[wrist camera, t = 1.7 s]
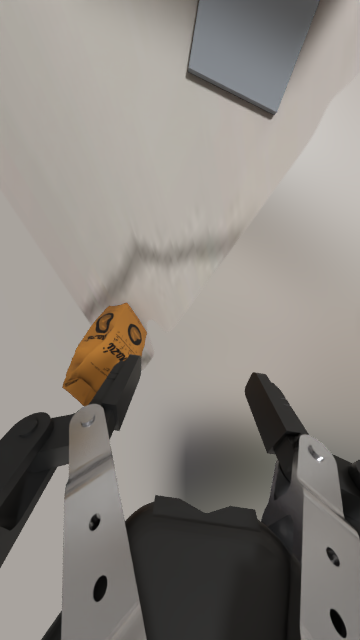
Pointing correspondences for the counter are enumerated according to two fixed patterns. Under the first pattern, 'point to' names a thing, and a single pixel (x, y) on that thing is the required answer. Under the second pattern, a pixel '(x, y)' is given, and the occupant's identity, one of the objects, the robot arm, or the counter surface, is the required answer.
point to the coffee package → (104, 351)
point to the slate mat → (250, 46)
